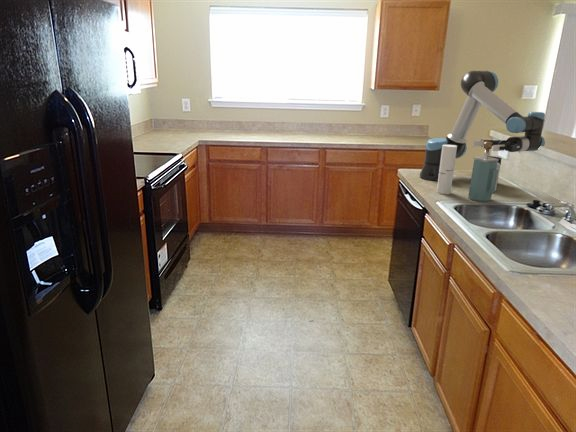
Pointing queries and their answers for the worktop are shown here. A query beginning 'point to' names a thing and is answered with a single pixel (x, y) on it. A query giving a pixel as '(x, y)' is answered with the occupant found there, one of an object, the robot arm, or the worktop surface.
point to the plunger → (487, 148)
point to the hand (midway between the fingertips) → (482, 145)
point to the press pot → (483, 179)
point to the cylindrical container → (446, 169)
